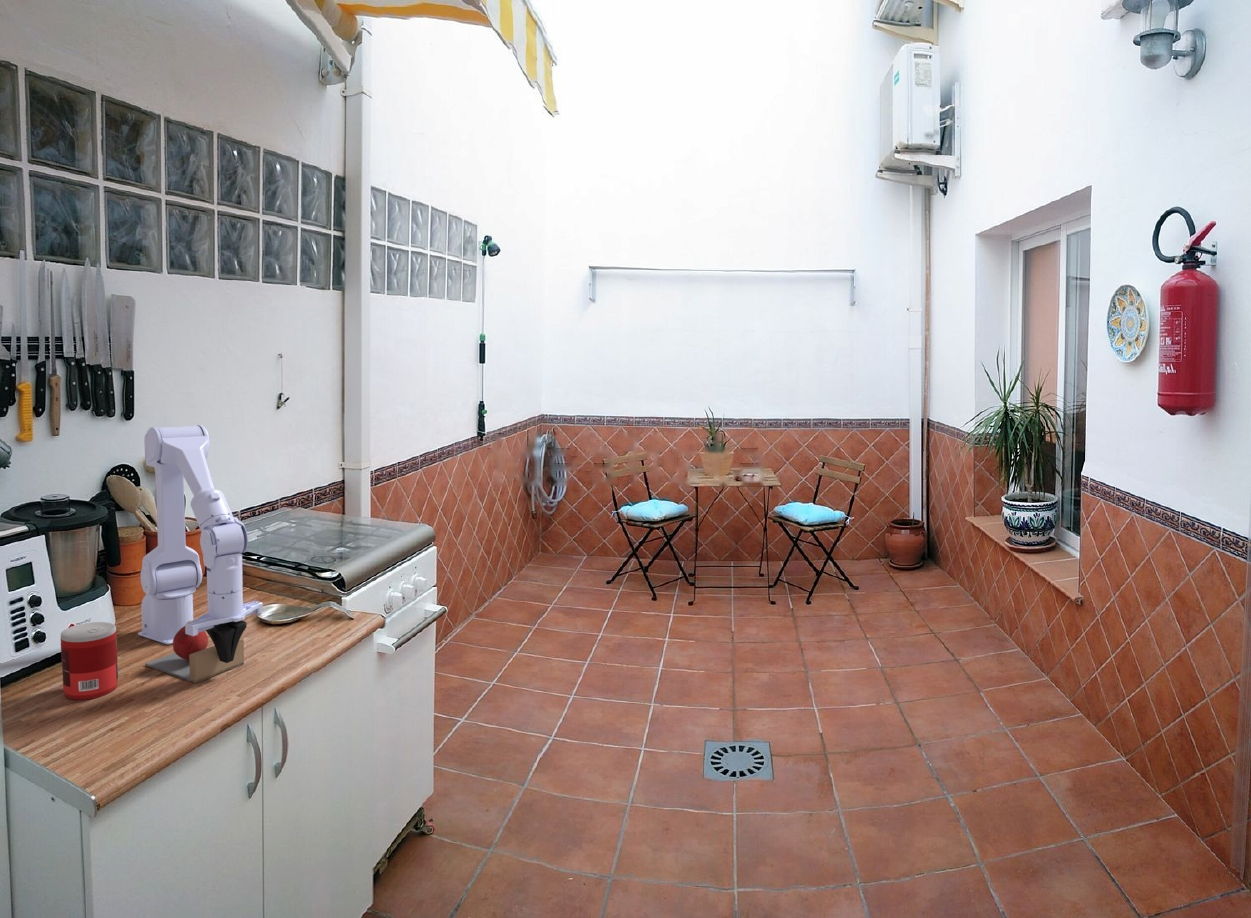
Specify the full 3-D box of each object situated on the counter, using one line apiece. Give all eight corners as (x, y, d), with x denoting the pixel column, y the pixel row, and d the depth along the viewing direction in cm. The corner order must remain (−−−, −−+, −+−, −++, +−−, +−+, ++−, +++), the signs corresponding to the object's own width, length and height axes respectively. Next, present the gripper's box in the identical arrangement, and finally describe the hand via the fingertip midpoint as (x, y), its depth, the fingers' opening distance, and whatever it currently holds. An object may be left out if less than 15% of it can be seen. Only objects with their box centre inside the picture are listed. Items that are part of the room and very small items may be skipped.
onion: (193, 669, 149) (192, 628, 148) (165, 665, 150) (164, 624, 149) (215, 657, 154) (214, 617, 153) (188, 653, 156) (187, 613, 154)
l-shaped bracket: (145, 665, 150) (144, 639, 149) (194, 647, 159) (193, 623, 158) (196, 683, 144) (195, 656, 144) (243, 663, 153) (243, 638, 152)
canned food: (129, 685, 142) (126, 626, 140) (85, 704, 135) (82, 641, 133) (97, 677, 144) (94, 618, 143) (52, 695, 137) (49, 633, 135)
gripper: (203, 604, 137) (205, 680, 140) (274, 583, 150) (274, 652, 152) (176, 596, 140) (178, 670, 142) (247, 576, 153) (248, 644, 155)
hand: (226, 660), depth 148 cm, fingers closed, pressing on l-shaped bracket
